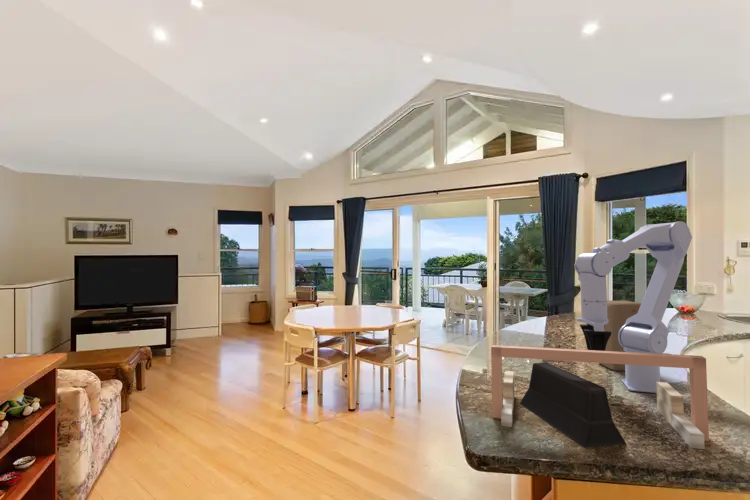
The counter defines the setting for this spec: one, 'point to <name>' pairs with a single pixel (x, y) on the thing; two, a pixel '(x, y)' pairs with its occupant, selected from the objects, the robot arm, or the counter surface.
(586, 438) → the barrier
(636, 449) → the counter surface
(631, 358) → the arch
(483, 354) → the counter surface
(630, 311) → the wooden block
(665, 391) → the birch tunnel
